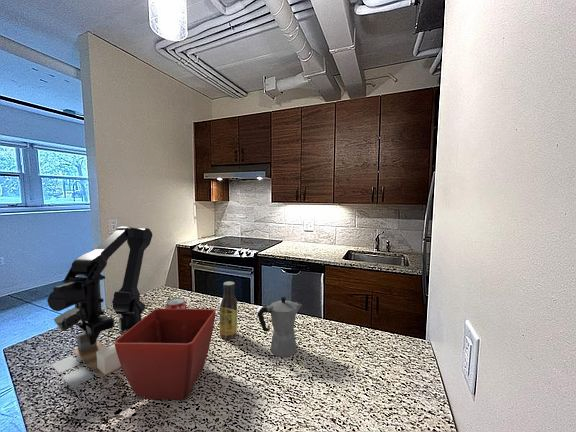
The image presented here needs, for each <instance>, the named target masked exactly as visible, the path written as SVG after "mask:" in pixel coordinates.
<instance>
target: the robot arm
mask: <svg viewBox="0 0 576 432" xmlns="http://www.w3.org/2000/svg"><path fill="white" fill-rule="evenodd" d="M152 239H153V232H152V231H151V229H150V228H148V227H145V228H143V227H131V226H119V227H116V229H115V231H114V232H113V233H112V234H111V235H110V236H108V237H107V238H106V239H105V240H103V242H101V244H99V245H98V246H97V247H96V248H95V249H94V250H92V251H88V252H87V253H84V254H82V255H81V256H79V257H77V258H75V259H74V260H73V262H72V263H71V267H70V268H69V270H68V272H67V274H66V276H65V278H64V279H63V281H62V283H63V284H61V285H56V286H54V287H52V290H53V291H52V292H51V293H50V294H49V295H48V298H46V299H47V305H48V306H49V308H50V309H51V310H53V311H54V312H61V311H63V310H65V309H67V308H69V307H72V306H74V307H72V308H70V309H68V310H66V311H64V312H63V313H61V314H60V315H58V316H56V317H55V318H54V319H53V321H54V323H55V324H56V326H57V327H58V328H59V329H60V330H61V331H62V332H65V331H68V330H69V329H70V328H72V327H74V326H75V325H76V326H77V327H78V328H80V329H81V330H82V331H84V332H85V333H86V336H87V338H88V341H89V343H90V344H91V345H93V344H95V342H96V340H97V341H98V338H99V336H100V334H101V333H102V332H104V331H107V330H110V329H113V328H114V327H115V325H116V324H115V319H113V318H111V317H110V316H107V315H105V311H104V310H103V309H102V303H104V298H103V297H101V294H102V293H101V281H102V280H104V279H105V280H106V276H105V275H102V273H103V271H104V270H105V268H106V267H107V265H108V260H109V259H110V258H111V256H112V255H113V254H115V252H116V251H117V250H118V249H119V248H120V247H121V246H123V244H124V243H125V242H126V243H127V245H128V248H129V252H128V258H127V261H126V266H125V270H124V271H125V272H124V277H123V281H122V286H121V288H120V289H119V290H118V291H114V294H113V299H112V301H111V304H112V309H113V310H114V313H115V314H116V315H120V317H119V318H118V325H119V327H118V328H119V329H120V330H121V331H123V330H129V329H131V328H132V327H133V326H134V325H136V324H137V323H138V322H140V321H141V320H142V314H143V313H144V312H145V309H146V304H145V303H143V302H142V301H141V300H140V299H141V294H140V291H139V289H138V285H139V279H140V274H141V269H142V264H143V258H144V254H145V253H144V252H145V250H146V249H147V248H148V247H149V246H150V244H151V241H152ZM102 315H103V316H102Z"/></svg>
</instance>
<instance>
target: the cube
mask: <svg viewBox="0 0 576 432" xmlns="http://www.w3.org/2000/svg"><path fill="white" fill-rule="evenodd" d="M105 347H106V348H104V349H102V350H99V351H97V352H96V353H97V368H98V369H99V370H100V371H101V372H103V373H104V374H107V373H109V372H111V371H113V370H115V369H117V368H119V367H121V364H120V362H119V358H118V355H117V352H116V348H115V344H114V343H113V344H111V345H108V346H105ZM121 368H122V367H121ZM119 369H120V368H119Z"/></svg>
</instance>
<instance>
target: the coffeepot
mask: <svg viewBox="0 0 576 432" xmlns="http://www.w3.org/2000/svg"><path fill="white" fill-rule="evenodd" d="M286 298H287V297H286V296H281V298H280V300H277V301H274V302H272V303H270V305H267V306H261V307H260V309H259V310H258V312H257V313H256V315H257V318H258V320H259V323H260V326H261V328H262V331H263V332H269V331H270V330H271V328H270V327H267V323H266V322H265V317H264V314H265V313H268V314H269V313H270V316H271V324H272V325H271V326H272V327H273V330H272V336H271V337H272V338H271V345H270V350H269V351H270V353H271V354H273V355H274V356H276V357H280V358H286V357H290V356H291V357H292V356H293V355H295V353H297V341H296V340H297V339H296V335H295V329H294V328H295V324H296V323H295V322H296V315H297V313H298V311H299V310H300V308H301V307H302V306H303V304H302V303H301V302H298V301H297V302H295V301H291V300H287V299H286Z"/></svg>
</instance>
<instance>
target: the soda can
mask: <svg viewBox="0 0 576 432" xmlns="http://www.w3.org/2000/svg"><path fill="white" fill-rule="evenodd" d="M165 303H166V304H165V307H164V309H188V308H187V302H186V299H185V298H183V297H174V298H171V299H169V300H167V301H166V302H165Z"/></svg>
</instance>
